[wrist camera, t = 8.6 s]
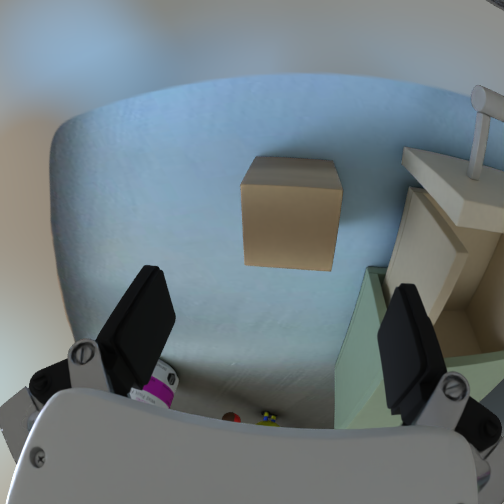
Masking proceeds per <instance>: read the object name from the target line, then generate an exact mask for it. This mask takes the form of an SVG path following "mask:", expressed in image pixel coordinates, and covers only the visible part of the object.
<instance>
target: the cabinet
mask: <svg viewBox="0 0 504 504" xmlns="http://www.w3.org/2000/svg"><path fill="white" fill-rule="evenodd" d="M387 269H388V268H377V267H367V268H366V272H365V276H364V279H363V283H362V286H361V290H360V293H359V297H358V300H357V303H356V307H355V310H354V313H353V316H352V319H351V322H350V325H349V328H348V331H347V334H346V337H345V340H344V343H343V345H342V348H341V351H340V354H339V356H338V359H337V362H336V364H335V421H334V429H366V428H384V427H397V426H399V425H400V423H401V422H402V420H401V415H391V409H388V408H387V403H386V394H385V386H384V379H383V372H382V365H381V359H380V352H379V347H378V341H377V333H378V330H379V328H380V325H381V323H382V320H383V318H384V316H385V313H386V311H387V308H386V304H385V300H384V296H383V292H382V288H381V287H382V284H383V281H384V278H385V275H386V272H387ZM444 361H445V365H446V368H447V372H451V371H454V372H458V373H461V374H462V375H463V376H464V377H465V378H466V379H467V380H468V382H469V385H470V395H469V396H471V397H472V398H473V399H475V400H476V401H477V402H479V401H481V399H483V398H484V397H485V396H486V395H487V394H488V393H489V392H490V391H491V390H492V389H493V388H494V387H495V386H496V385H497V384H498V383H499V382H500V381H501V380H502V379H503V378H504V350H503V351H497V352H490V353H483V354H476V355H467V356H458V357H448V358H444Z"/></svg>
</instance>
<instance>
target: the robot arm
mask: <svg viewBox="0 0 504 504" xmlns="http://www.w3.org/2000/svg"><path fill="white" fill-rule="evenodd" d="M175 319H176V316H175V312H174V308H173V305H172V302H171V298H170V295H169V291H168V288H167V284H166V280H165V277H164V273H163V271H162V270H160V268H159V267H158V266H150V265H145V266H143V268H142V269H141V270H140V272H139V273H138V275H137V276H136V278H135V279H134V281H133V282H132V284H131V285H130V286H129V288H128V289H127V291H126V292H125V294H124V295H123V297H122V298H121V300H120V301H119V303H118V305H117V306H116V308H115V309H114V311H113V312H112V314H111V315H110V317H109V319H108V320H107V322H106V323H105V325H104V327H103V328H102V330H101V331H100V333H99V335H98V336H97V339H96V340H95V341H94V340H92V339H81V340H79V341H77V342H76V343H74V344H73V345H72V347H71V348H70V349H69V352H68V358H67V359H65V360H63V361H60V362H58V363H56V364H54V365H51V366H49V367H46V368H44V369H41V370H39V371H37V372H36V373H35V374H34V375H33V376H32V378H31V380H30V383H29V388H27V387H26V386H25V387H24V388H23V389H22V390H20V391H19V392H18V393H17V394H15V395H14V396H13V397H12V398H10V399H9V400H8V401H7V402H6V403H4V404H3V405H2V406H1V407H0V428H1V431H2V433H3V435H4V438H5V440H6V443H7V445H8V447H9V449H10V452H11V454H12V456H13V458H14V460H15V462H16V464H17V466H16V469H15V472H14V476H13V479H12V482H11V486H10V490H9V494H8V497H7V502H6V504H502V503H503V502H504V436H503V437H502V436H501V432H502V426H501V422H500V420H499V418H498V417H497V416H496V415H495V414H493V413H492V412H491V411H489V410H488V409H487V408H485V407H484V406H483V405H481V404H480V403H479V402H477V401H476V400H475V399H473V398H472V397H471V396H469V395H470V385H469V382H468V380H467V379H466V378H465V377H464V376H463V375H462V374H461V373H458V372H454V371H451V372H447V368H446V365H445V361H444V358H443V355H442V351H441V348H440V345H439V342H438V339H437V336H436V333H435V330H434V327H433V324H432V322H431V319H430V318H429V317H428V316H427V313H426V310H425V308H424V305H423V303H422V300H421V297H420V295H419V292H418V290H417V288H416V285H415V284H411V283H401V284H400V285H399V287H396V288H395V290H394V293H393V295H392V298H391V300H390V303H389V306H388V308H387V311H386V313H385V316H384V318H383V320H382V323H381V325H380V328H379V330H378V333H377V341H378V347H379V352H380V359H381V365H382V372H383V379H384V386H385V394H386V403H387V408H388V409H391V415H401V420H402V422H401V423H400V425H399V426H397V427H384V428H366V429H302V428H285V427H273V426H263V425H254V424H246V423H238V422H231V421H225V420H219V419H213V418H208V417H203V416H198V415H193V414H188V413H184V412H179V411H175V410H171V409H167V408H163V407H159V406H155V405H152V404H148V403H144V402H141V401H137V400H134V399H131V396H130V391H131V388H134V389H138V390H141V391H142V390H143V387H144V385H147V384H148V383H149V381H150V379H151V376H152V374H153V371H154V369H155V367H156V364H157V362H158V360H159V357H160V355H161V353H162V350H163V348H164V346H165V344H166V341H167V339H168V337H169V335H170V332H171V330H172V328H173V326H174V323H175Z"/></svg>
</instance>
